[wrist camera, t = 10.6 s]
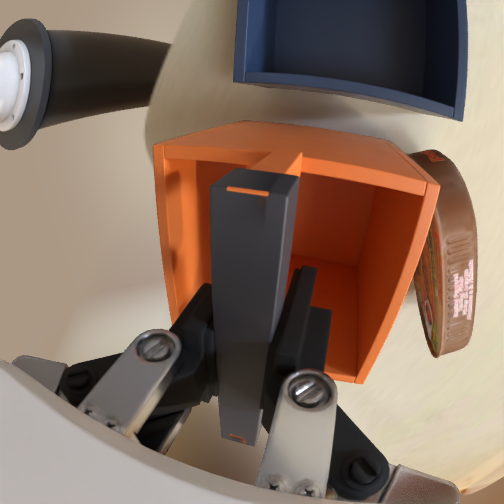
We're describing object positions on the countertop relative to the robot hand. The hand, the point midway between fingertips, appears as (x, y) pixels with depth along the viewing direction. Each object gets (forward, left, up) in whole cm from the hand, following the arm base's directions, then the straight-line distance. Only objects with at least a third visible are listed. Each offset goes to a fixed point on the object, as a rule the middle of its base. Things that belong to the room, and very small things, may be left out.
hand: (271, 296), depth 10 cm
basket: (0, 0, -11) cm, 11 cm away
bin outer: (+2, +13, -14) cm, 19 cm away
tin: (+10, -2, -14) cm, 17 cm away
